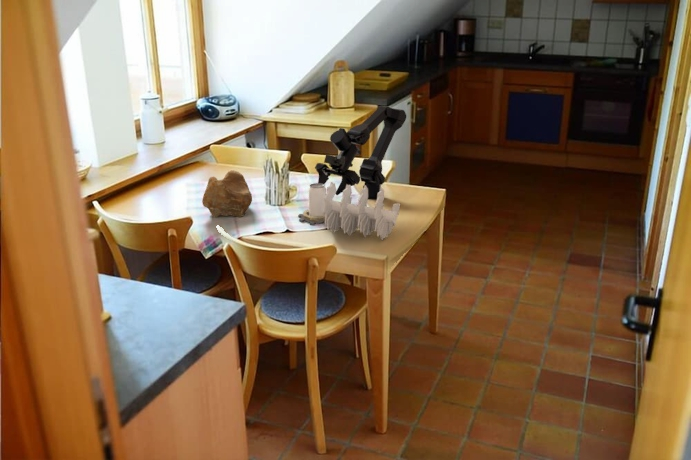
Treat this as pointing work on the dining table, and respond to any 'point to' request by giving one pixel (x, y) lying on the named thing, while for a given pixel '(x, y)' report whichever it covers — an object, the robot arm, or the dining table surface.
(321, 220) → the gear plate
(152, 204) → the dining table surface
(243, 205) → the rough brown rock
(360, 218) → the white pleated crown
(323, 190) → the can
